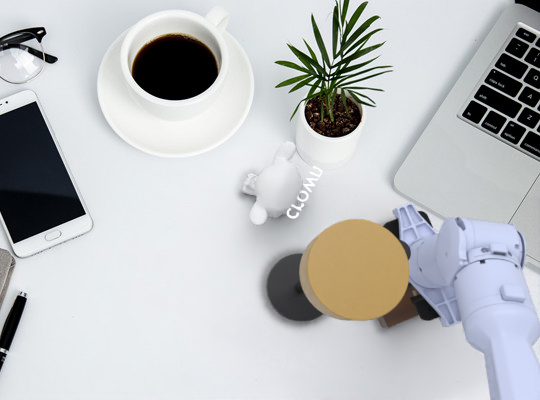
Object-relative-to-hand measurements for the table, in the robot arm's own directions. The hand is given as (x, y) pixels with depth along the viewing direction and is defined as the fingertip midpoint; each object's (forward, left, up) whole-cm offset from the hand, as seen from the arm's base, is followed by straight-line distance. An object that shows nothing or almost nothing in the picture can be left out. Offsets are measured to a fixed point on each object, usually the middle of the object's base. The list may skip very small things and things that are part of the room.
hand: (405, 269), depth 79 cm
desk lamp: (+3, +13, -4) cm, 14 cm away
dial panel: (0, 0, -4) cm, 4 cm away
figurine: (+16, +11, -4) cm, 20 cm away
